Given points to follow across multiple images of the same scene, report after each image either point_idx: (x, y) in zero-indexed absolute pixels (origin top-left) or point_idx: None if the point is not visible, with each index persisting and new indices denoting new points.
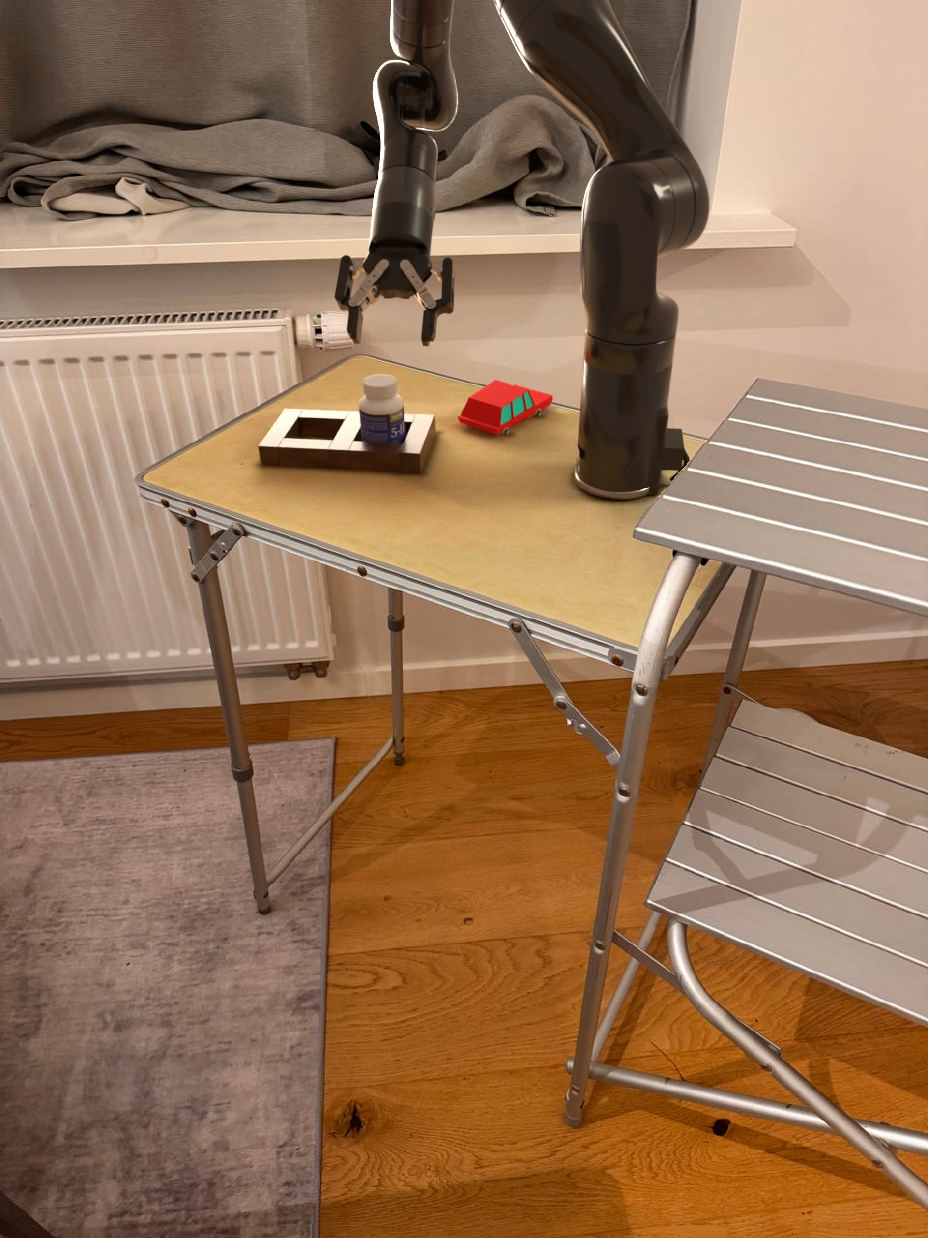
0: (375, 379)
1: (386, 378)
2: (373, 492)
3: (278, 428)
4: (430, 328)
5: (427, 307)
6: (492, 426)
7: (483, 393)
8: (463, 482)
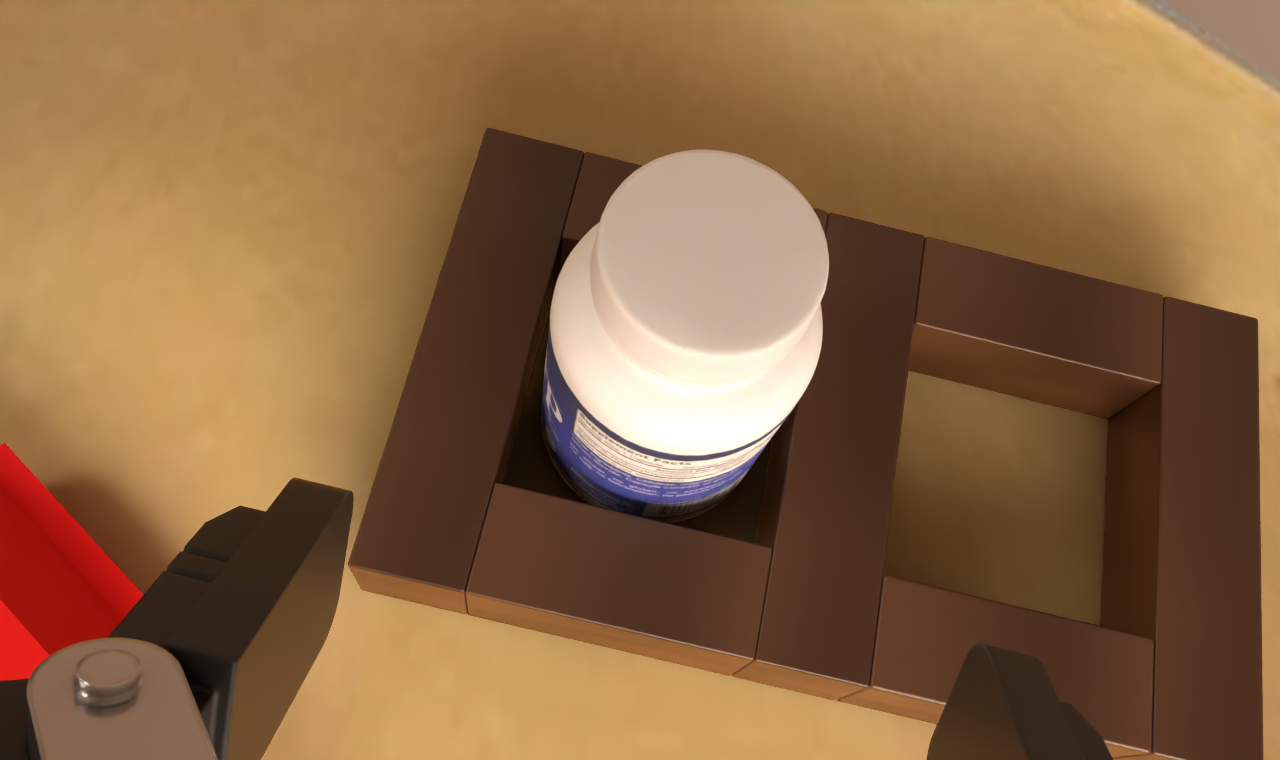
0: (743, 260)
1: (668, 265)
2: (693, 71)
3: (1220, 498)
4: (226, 548)
5: (177, 663)
6: (18, 480)
7: None
8: (309, 83)
